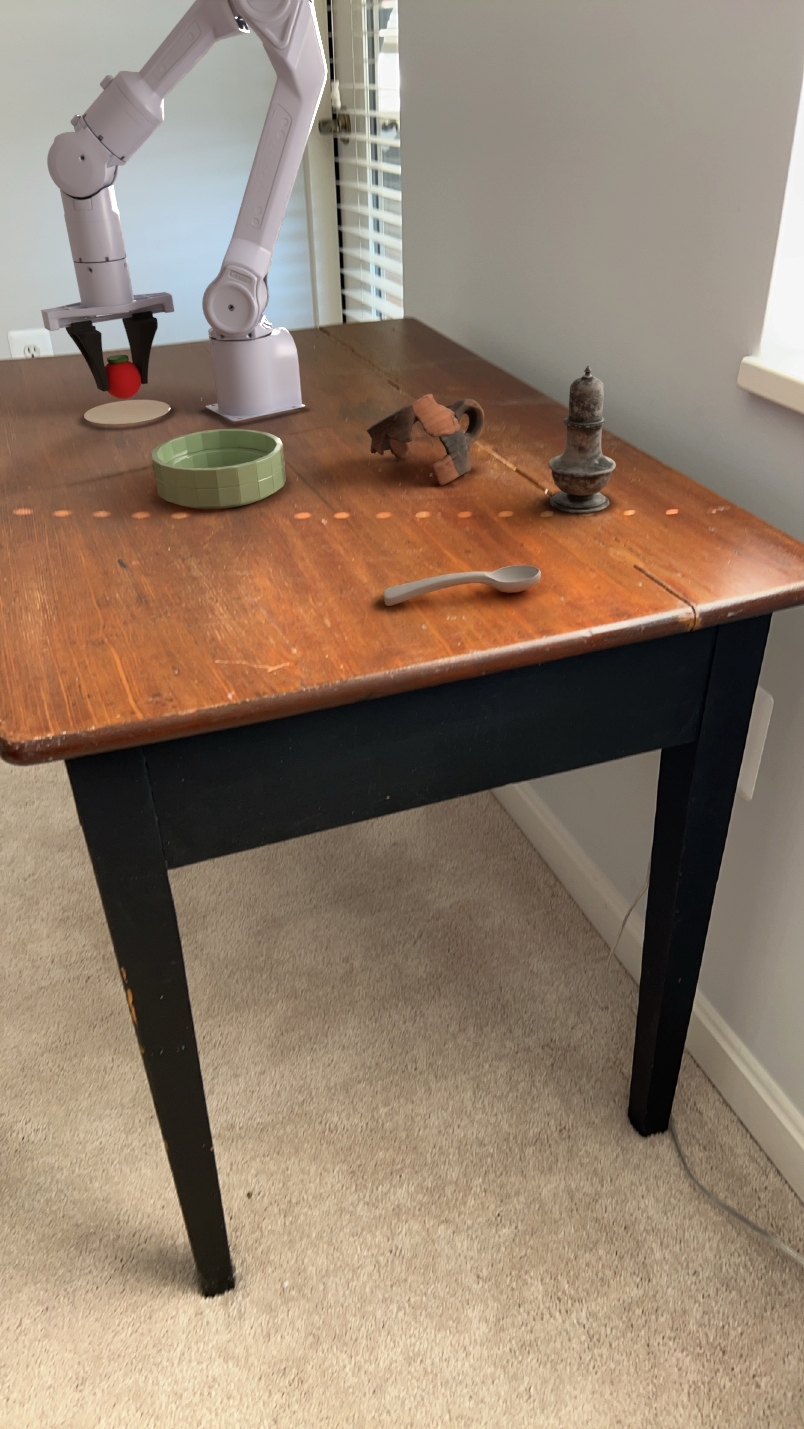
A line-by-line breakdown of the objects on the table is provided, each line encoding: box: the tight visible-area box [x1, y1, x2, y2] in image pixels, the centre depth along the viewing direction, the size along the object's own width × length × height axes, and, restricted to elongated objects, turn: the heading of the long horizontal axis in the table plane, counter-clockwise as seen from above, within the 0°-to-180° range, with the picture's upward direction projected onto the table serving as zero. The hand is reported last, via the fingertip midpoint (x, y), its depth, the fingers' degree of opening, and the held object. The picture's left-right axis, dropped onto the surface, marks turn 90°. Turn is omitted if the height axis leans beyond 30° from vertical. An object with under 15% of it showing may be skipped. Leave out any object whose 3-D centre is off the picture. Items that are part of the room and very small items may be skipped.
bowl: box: [150, 428, 287, 510], centre depth 96 cm, size 12×12×4 cm
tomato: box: [105, 354, 142, 400], centre depth 117 cm, size 4×4×5 cm
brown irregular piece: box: [366, 393, 485, 486], centre depth 99 cm, size 12×10×8 cm
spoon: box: [382, 564, 542, 607], centre depth 76 cm, size 3×12×2 cm, turn 99°
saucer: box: [83, 399, 171, 425], centre depth 119 cm, size 10×10×1 cm
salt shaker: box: [547, 365, 617, 514], centre depth 88 cm, size 6×6×12 cm
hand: (123, 385), depth 117 cm, fingers closed on tomato, 4 cm apart
